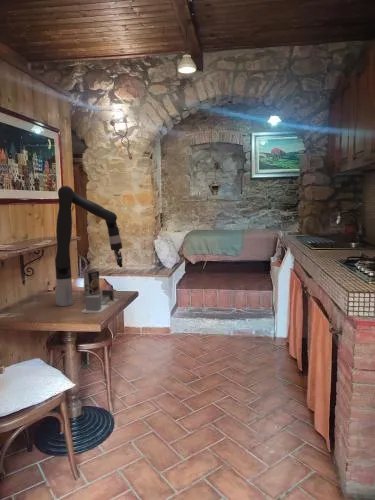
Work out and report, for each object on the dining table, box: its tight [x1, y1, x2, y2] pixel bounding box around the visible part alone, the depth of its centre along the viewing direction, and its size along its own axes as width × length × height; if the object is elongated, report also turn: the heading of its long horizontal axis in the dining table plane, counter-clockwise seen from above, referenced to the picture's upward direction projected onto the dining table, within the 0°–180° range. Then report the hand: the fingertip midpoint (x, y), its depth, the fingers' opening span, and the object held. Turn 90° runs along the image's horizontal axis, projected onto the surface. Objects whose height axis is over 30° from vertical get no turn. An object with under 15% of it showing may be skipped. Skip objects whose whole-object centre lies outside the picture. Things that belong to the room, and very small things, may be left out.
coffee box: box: [83, 270, 101, 296], centre depth 268 cm, size 9×6×16 cm
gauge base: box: [80, 295, 120, 314], centre depth 234 cm, size 12×31×9 cm, turn 170°
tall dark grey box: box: [101, 289, 115, 304], centre depth 239 cm, size 10×13×6 cm
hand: (120, 266), depth 249 cm, fingers open, 8 cm apart
